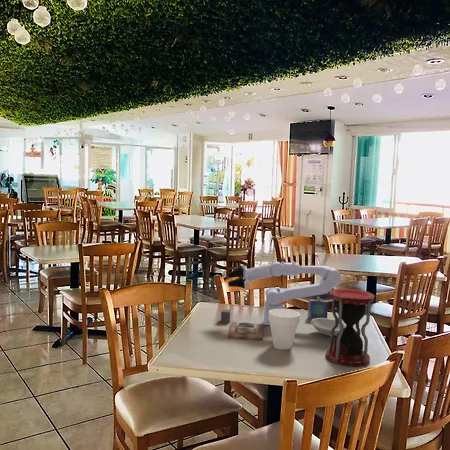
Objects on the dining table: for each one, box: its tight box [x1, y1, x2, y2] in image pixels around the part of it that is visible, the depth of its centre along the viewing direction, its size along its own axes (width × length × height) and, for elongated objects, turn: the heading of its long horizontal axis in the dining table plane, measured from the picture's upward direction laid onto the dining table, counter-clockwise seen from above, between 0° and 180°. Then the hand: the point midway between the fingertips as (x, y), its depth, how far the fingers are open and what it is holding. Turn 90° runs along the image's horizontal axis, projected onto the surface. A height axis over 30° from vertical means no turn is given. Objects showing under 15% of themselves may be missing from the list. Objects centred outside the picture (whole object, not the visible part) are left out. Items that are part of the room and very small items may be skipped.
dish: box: [309, 317, 346, 337], centre depth 206 cm, size 18×14×5 cm
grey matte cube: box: [220, 308, 232, 324], centre depth 220 cm, size 4×4×5 cm
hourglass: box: [325, 288, 375, 367], centre depth 179 cm, size 16×16×25 cm
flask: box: [307, 296, 329, 320], centre depth 230 cm, size 9×3×11 cm, turn 76°
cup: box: [268, 308, 301, 351], centre depth 189 cm, size 12×12×14 cm
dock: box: [227, 321, 264, 341], centre depth 206 cm, size 14×19×3 cm
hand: (228, 279), depth 219 cm, fingers open, 7 cm apart
